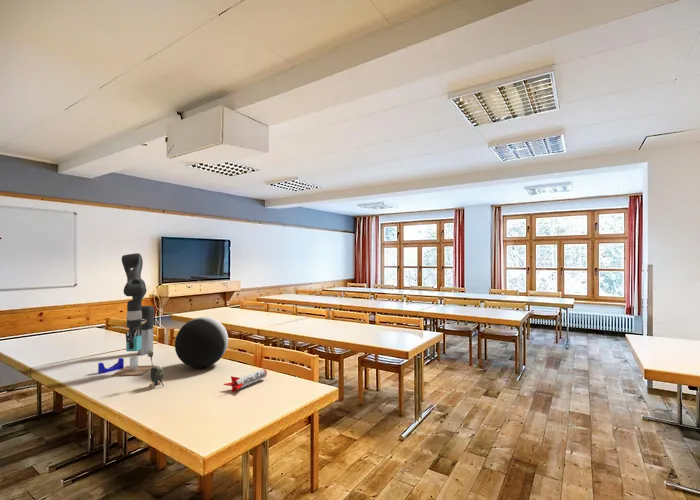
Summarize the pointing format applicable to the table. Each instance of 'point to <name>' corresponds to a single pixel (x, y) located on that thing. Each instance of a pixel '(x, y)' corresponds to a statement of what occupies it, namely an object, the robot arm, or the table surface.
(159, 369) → the plant with pod
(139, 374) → the walnut board
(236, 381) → the model rocket
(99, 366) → the cable clip
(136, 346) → the aqua box
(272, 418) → the table surface
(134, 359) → the steel post
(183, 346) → the black ball
